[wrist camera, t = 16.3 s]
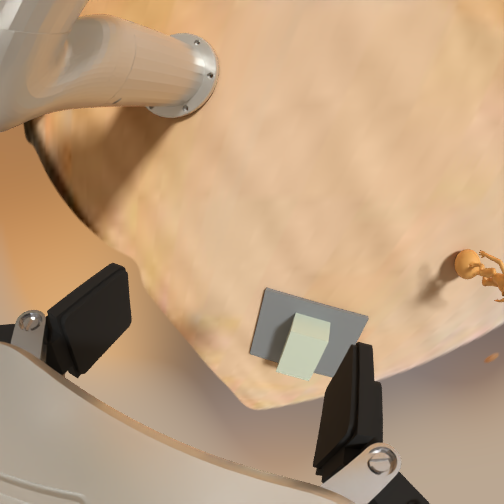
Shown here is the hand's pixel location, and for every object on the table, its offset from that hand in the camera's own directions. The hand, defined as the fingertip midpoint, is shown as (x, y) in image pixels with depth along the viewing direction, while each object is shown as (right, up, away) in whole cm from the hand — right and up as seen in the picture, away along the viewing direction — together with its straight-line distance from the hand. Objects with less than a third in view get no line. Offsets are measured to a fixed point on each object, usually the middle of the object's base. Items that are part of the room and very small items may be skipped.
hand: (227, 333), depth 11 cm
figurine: (+31, +3, +22) cm, 38 cm away
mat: (+9, -10, +34) cm, 37 cm away
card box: (+9, -11, +34) cm, 36 cm away
